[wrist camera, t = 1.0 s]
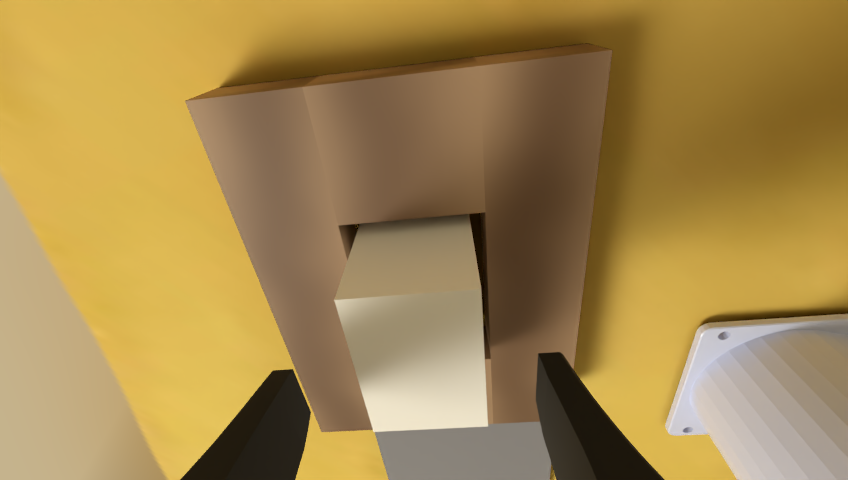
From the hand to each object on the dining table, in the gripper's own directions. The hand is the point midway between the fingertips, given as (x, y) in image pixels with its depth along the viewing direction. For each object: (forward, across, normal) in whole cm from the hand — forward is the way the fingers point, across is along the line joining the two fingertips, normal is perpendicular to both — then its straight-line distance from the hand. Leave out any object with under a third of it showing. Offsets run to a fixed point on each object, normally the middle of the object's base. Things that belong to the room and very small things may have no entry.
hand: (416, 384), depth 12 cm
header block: (+6, 0, 0) cm, 6 cm away
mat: (+6, -1, +14) cm, 15 cm away
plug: (+6, 0, 0) cm, 6 cm away
